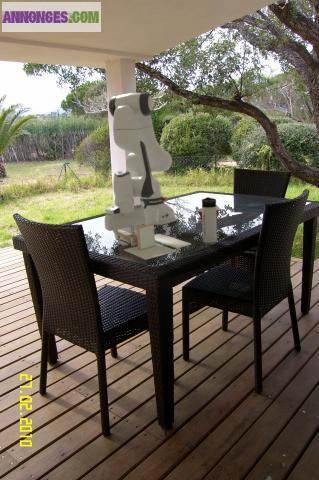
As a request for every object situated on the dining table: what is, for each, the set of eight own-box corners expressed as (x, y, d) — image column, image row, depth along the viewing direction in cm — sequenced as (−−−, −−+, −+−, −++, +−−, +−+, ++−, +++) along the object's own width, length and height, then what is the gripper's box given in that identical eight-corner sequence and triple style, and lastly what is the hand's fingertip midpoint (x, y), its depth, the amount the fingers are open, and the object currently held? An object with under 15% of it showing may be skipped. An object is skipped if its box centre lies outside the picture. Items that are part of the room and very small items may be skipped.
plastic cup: (203, 228, 202) (202, 205, 199) (223, 230, 197) (223, 206, 193) (194, 233, 193) (193, 209, 190) (214, 235, 188) (214, 210, 185)
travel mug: (215, 240, 181) (214, 196, 175) (217, 244, 174) (217, 199, 169) (201, 241, 181) (200, 197, 175) (203, 245, 174) (202, 200, 169)
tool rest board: (160, 235, 193) (160, 233, 193) (191, 245, 174) (191, 243, 174) (146, 238, 189) (146, 236, 189) (176, 249, 170) (176, 247, 170)
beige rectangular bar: (123, 236, 195) (122, 228, 194) (143, 244, 180) (143, 236, 179) (112, 239, 192) (111, 231, 191) (132, 247, 177) (131, 238, 176)
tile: (153, 245, 176) (151, 223, 173) (155, 246, 174) (154, 224, 172) (138, 249, 171) (136, 227, 168) (140, 250, 170) (138, 227, 167)
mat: (153, 243, 181) (153, 242, 181) (177, 252, 166) (177, 250, 166) (123, 251, 172) (123, 249, 172) (145, 261, 158) (145, 259, 158)
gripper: (140, 203, 189) (142, 231, 193) (101, 209, 178) (104, 239, 182) (147, 205, 184) (149, 233, 188) (108, 211, 173) (110, 242, 177)
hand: (126, 236), depth 185 cm, fingers open, 8 cm apart
